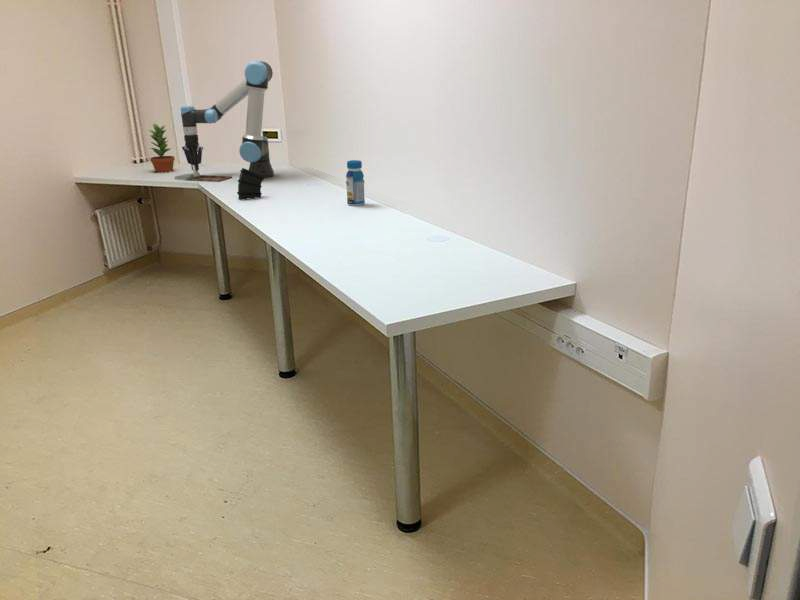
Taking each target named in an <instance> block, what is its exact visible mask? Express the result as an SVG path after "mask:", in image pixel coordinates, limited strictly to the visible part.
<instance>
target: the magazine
mask: <svg viewBox="0 0 800 600" xmlns="http://www.w3.org/2000/svg"><path fill="white" fill-rule="evenodd" d="M239 172H240V174H239V178H238V179H237V182H238V185H237V187H238V189H237V195H238V200H240V199H245V200H248V199H247V198H252V199H256V198H255V197H260V198H261V197H262V195H263V193H262V191H261V188H263V185H262V183H263V181H264V180H265V177H264V176H263V175H260V174H258V173H255V172H252V171H250V170H249V169H246V168H244V167H242V168H241V169H240V170H239ZM263 177H264V178H263Z"/></svg>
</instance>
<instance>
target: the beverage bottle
mask: <svg viewBox="0 0 800 600" xmlns="http://www.w3.org/2000/svg"><path fill="white" fill-rule="evenodd" d="M346 167H347V168H346V169H348V170H347V172H346V175H345V177H346V178H345V179H346V180H345V184H346V196H347V197H346V200H347V201H346V202H347V205H348V206H352V207H359V206H360V207H361V206H364V205H365V201H366V200H365V179H364V177H365V175H364V172H363V171H362V167H363V162H362V160H358V159H357V160H355V159H354V160H353V159H352V160H347V161H346Z"/></svg>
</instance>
